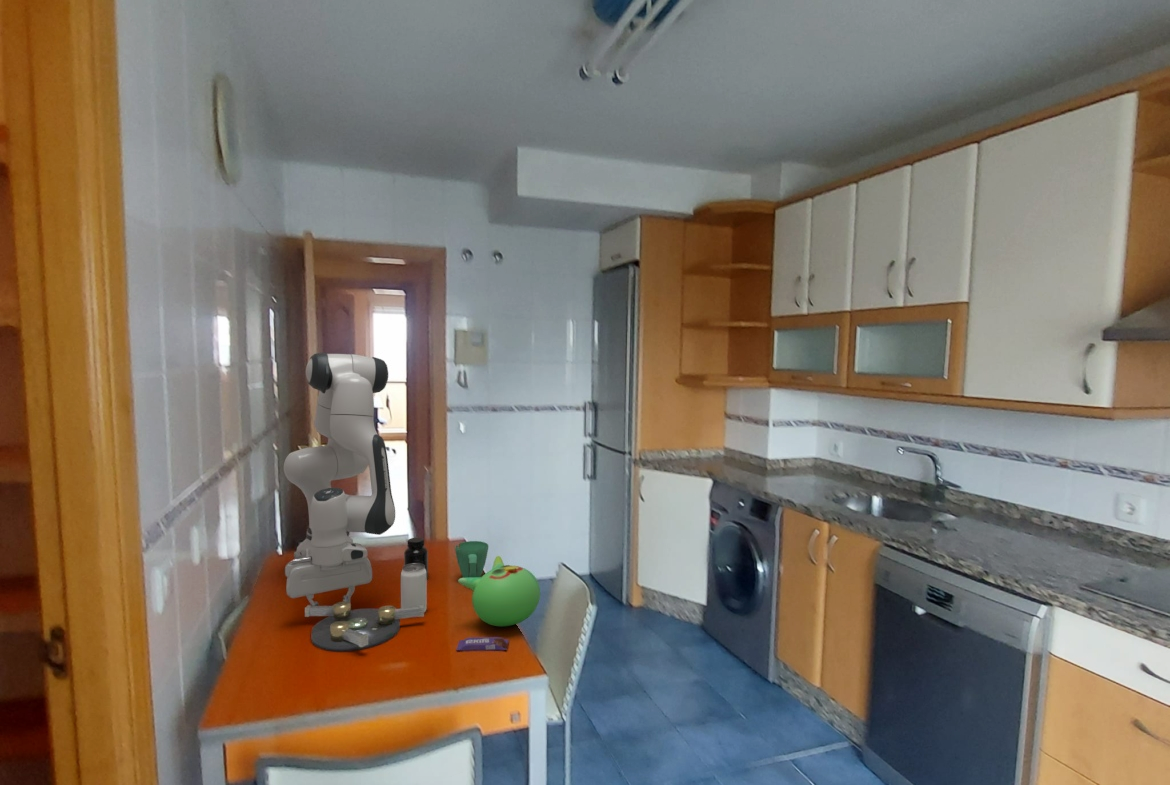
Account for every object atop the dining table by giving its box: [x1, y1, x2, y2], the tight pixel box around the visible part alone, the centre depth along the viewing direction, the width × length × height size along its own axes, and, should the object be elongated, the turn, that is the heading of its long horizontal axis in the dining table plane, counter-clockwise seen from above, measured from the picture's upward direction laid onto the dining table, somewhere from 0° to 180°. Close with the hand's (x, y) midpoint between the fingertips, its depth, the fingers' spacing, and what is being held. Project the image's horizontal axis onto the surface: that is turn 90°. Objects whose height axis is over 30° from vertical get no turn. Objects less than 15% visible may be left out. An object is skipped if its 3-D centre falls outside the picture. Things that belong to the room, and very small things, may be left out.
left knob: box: [377, 605, 425, 624], centre depth 152 cm, size 11×4×3 cm, turn 109°
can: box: [400, 563, 428, 613], centre depth 161 cm, size 6×6×12 cm
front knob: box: [330, 621, 368, 647], centre depth 140 cm, size 11×4×3 cm, turn 58°
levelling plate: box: [310, 608, 401, 653], centre depth 149 cm, size 20×20×3 cm
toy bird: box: [457, 555, 541, 627], centre depth 155 cm, size 18×17×15 cm
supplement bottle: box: [403, 537, 429, 579], centre depth 184 cm, size 7×7×12 cm
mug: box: [454, 540, 489, 578], centre depth 183 cm, size 15×10×10 cm
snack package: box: [455, 636, 510, 652], centre depth 142 cm, size 12×2×5 cm
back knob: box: [304, 600, 352, 620], centre depth 153 cm, size 11×4×3 cm, turn 92°
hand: (330, 606), depth 157 cm, fingers open, 6 cm apart
